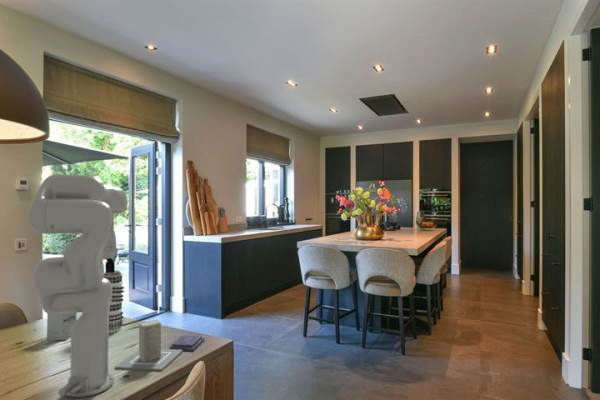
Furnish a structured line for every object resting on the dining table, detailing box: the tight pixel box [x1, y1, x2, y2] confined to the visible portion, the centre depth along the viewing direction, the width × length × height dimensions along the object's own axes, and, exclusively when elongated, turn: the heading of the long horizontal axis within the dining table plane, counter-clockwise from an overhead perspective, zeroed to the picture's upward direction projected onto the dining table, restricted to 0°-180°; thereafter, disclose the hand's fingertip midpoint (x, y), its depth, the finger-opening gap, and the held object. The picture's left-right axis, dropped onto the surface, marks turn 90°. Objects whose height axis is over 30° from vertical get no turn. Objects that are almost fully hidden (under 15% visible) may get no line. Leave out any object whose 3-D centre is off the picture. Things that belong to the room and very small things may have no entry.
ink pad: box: [169, 335, 205, 352], centre depth 137 cm, size 10×9×2 cm
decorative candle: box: [104, 270, 125, 334], centre depth 155 cm, size 9×9×25 cm
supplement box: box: [46, 312, 78, 341], centre depth 147 cm, size 7×7×13 cm
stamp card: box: [114, 348, 184, 372], centre depth 124 cm, size 16×16×1 cm
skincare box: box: [138, 319, 162, 362], centre depth 123 cm, size 6×4×12 cm
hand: (101, 275), depth 129 cm, fingers open, 9 cm apart
